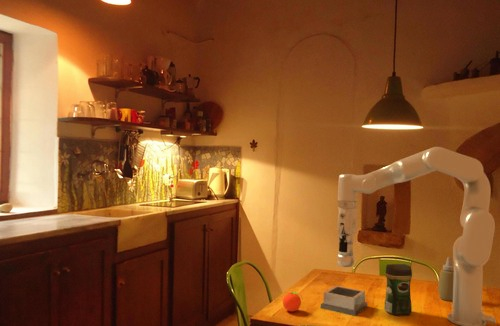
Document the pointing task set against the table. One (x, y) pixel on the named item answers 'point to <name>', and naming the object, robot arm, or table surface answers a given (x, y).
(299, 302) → the clementine
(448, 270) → the squeeze bottle
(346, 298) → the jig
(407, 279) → the coffee jar
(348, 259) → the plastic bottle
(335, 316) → the table surface
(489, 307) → the table surface
